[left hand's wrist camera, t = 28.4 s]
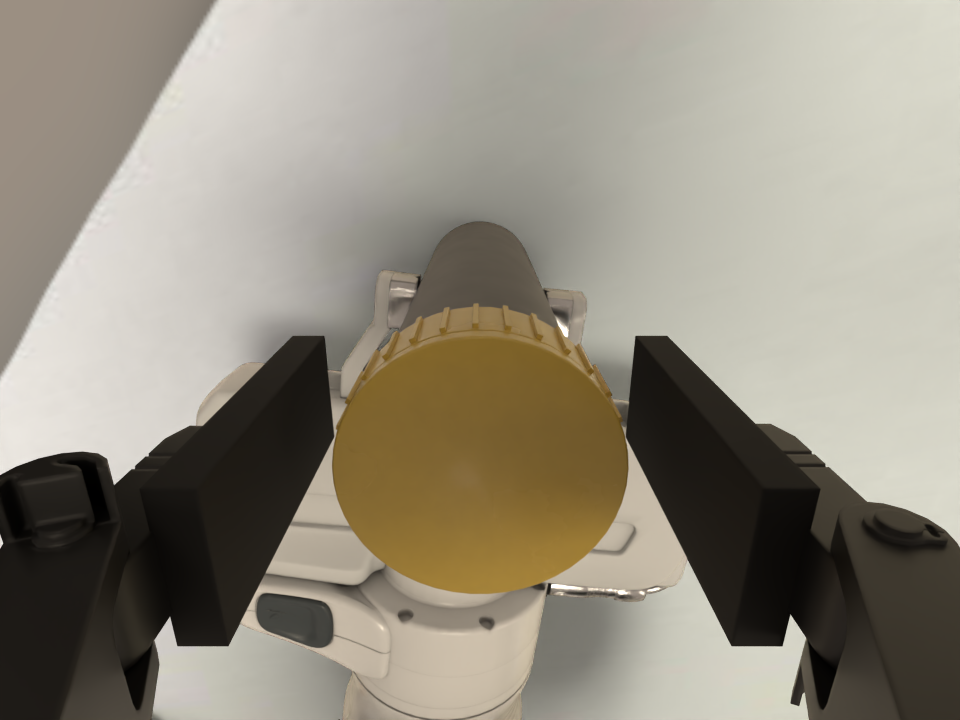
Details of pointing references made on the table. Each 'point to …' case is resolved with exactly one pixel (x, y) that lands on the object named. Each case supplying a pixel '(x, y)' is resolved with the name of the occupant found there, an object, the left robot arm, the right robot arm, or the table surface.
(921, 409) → the table surface
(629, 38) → the table surface
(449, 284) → the jar
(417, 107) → the table surface
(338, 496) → the lid
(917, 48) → the table surface
